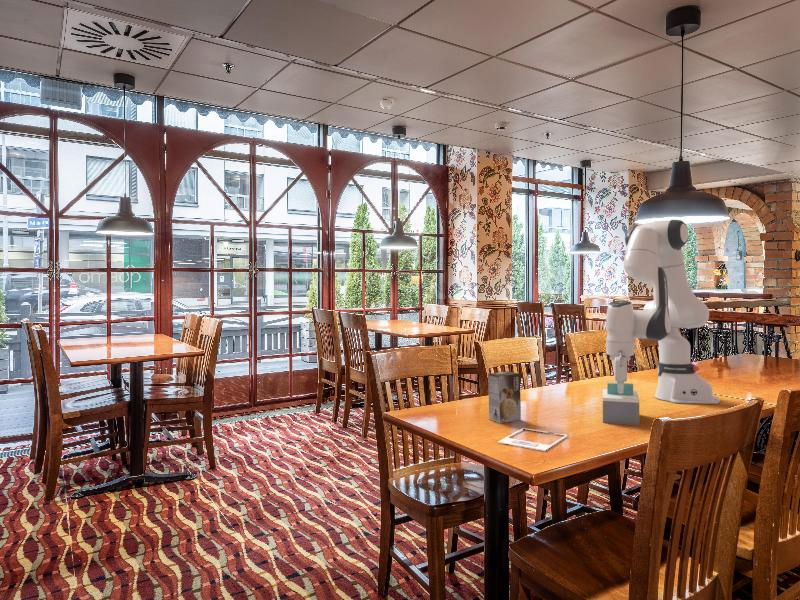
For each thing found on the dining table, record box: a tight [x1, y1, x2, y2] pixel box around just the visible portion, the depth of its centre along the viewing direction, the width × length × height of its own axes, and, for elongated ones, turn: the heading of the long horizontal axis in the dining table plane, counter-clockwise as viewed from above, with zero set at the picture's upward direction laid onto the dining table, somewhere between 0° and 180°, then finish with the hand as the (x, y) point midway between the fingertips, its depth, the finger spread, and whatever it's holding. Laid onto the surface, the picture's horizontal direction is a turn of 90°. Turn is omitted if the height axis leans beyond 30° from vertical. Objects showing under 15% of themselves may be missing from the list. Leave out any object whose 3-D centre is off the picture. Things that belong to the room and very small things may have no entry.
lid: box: [602, 382, 640, 404], centre depth 186 cm, size 11×15×6 cm
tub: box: [602, 400, 640, 426], centre depth 187 cm, size 11×15×8 cm
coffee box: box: [487, 371, 522, 424], centre depth 190 cm, size 9×6×16 cm
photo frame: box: [497, 427, 569, 452], centre depth 166 cm, size 15×1×18 cm
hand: (620, 390), depth 186 cm, fingers open, 8 cm apart
